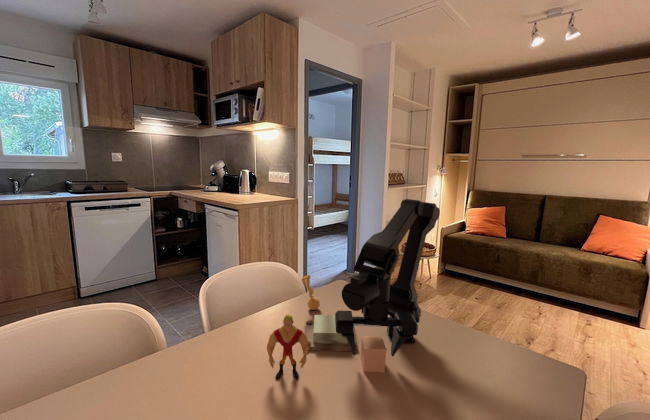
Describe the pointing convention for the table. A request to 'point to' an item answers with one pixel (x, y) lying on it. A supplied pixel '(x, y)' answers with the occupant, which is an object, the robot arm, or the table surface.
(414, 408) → the table surface
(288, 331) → the action figure
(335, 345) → the tower base
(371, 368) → the terracotta brick
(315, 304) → the figurine
